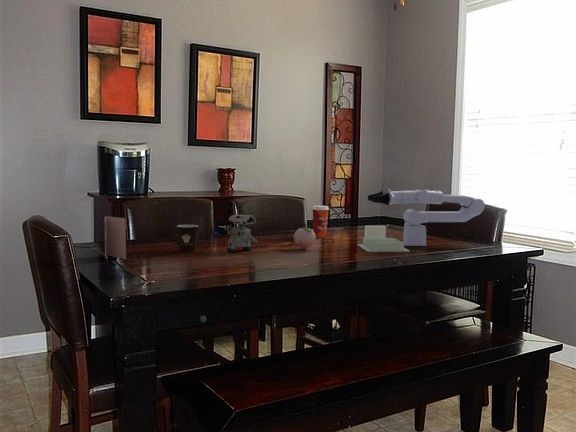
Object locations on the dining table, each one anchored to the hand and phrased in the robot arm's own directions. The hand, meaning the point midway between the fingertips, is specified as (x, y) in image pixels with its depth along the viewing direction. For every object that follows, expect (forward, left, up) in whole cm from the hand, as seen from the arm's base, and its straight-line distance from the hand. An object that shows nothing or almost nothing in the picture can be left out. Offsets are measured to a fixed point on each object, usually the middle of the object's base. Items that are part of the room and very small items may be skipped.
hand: (370, 198), depth 243 cm
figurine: (+56, +19, -21) cm, 63 cm away
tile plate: (-4, -3, -21) cm, 21 cm away
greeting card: (+103, +33, -21) cm, 111 cm away
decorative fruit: (+30, +13, -21) cm, 39 cm away
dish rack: (-4, +10, -20) cm, 23 cm away
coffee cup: (+18, -22, -21) cm, 35 cm away
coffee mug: (+79, +16, -21) cm, 84 cm away
